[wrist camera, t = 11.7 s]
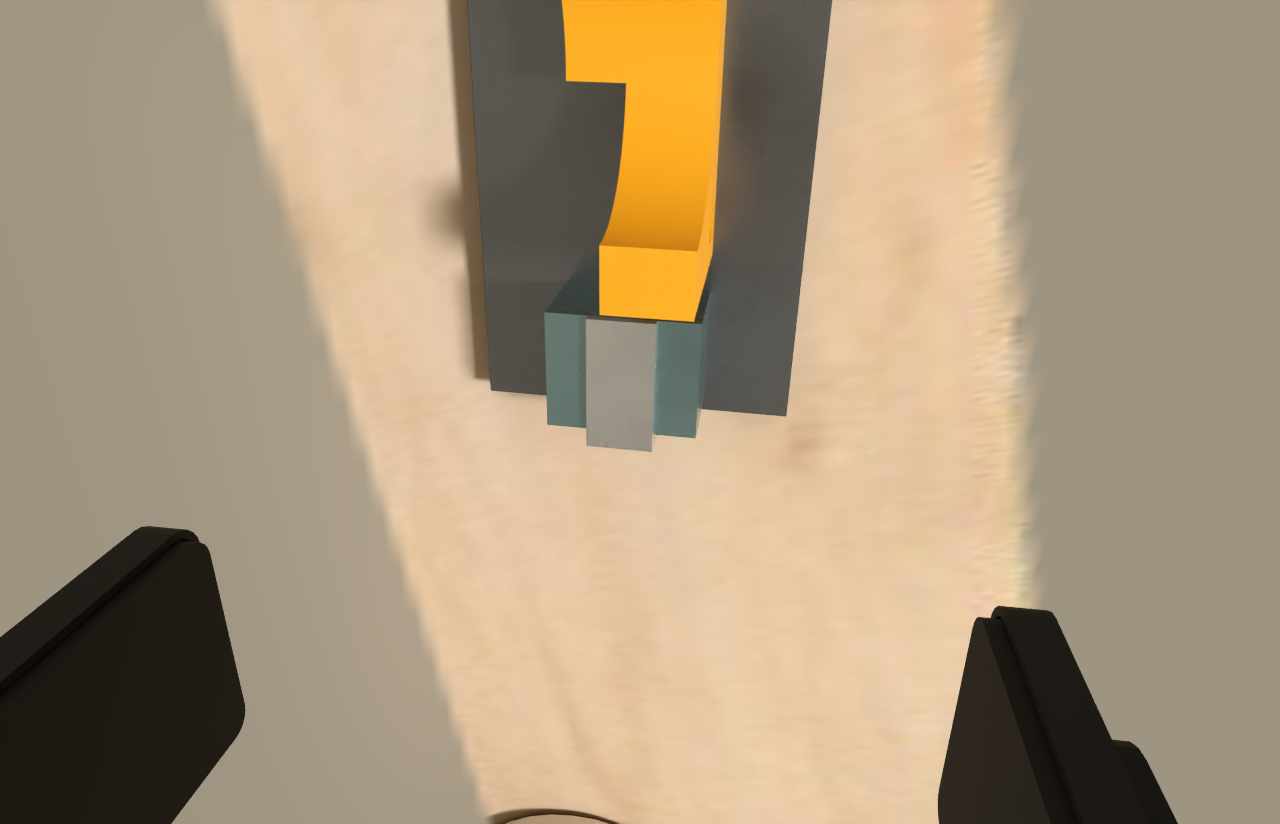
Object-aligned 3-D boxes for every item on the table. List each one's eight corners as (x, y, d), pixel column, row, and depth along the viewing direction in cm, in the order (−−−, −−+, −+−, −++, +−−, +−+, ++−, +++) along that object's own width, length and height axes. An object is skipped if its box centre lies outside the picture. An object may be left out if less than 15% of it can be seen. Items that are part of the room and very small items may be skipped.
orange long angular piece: (580, -175, 24) (517, -222, 19) (736, -175, 24) (720, -223, 18) (585, 246, 30) (537, 310, 24) (712, 253, 29) (694, 321, 23)
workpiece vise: (786, 404, 32) (785, 464, 28) (498, 379, 34) (459, 433, 30) (883, -481, 21) (904, -585, 17) (451, -463, 23) (380, -557, 19)
